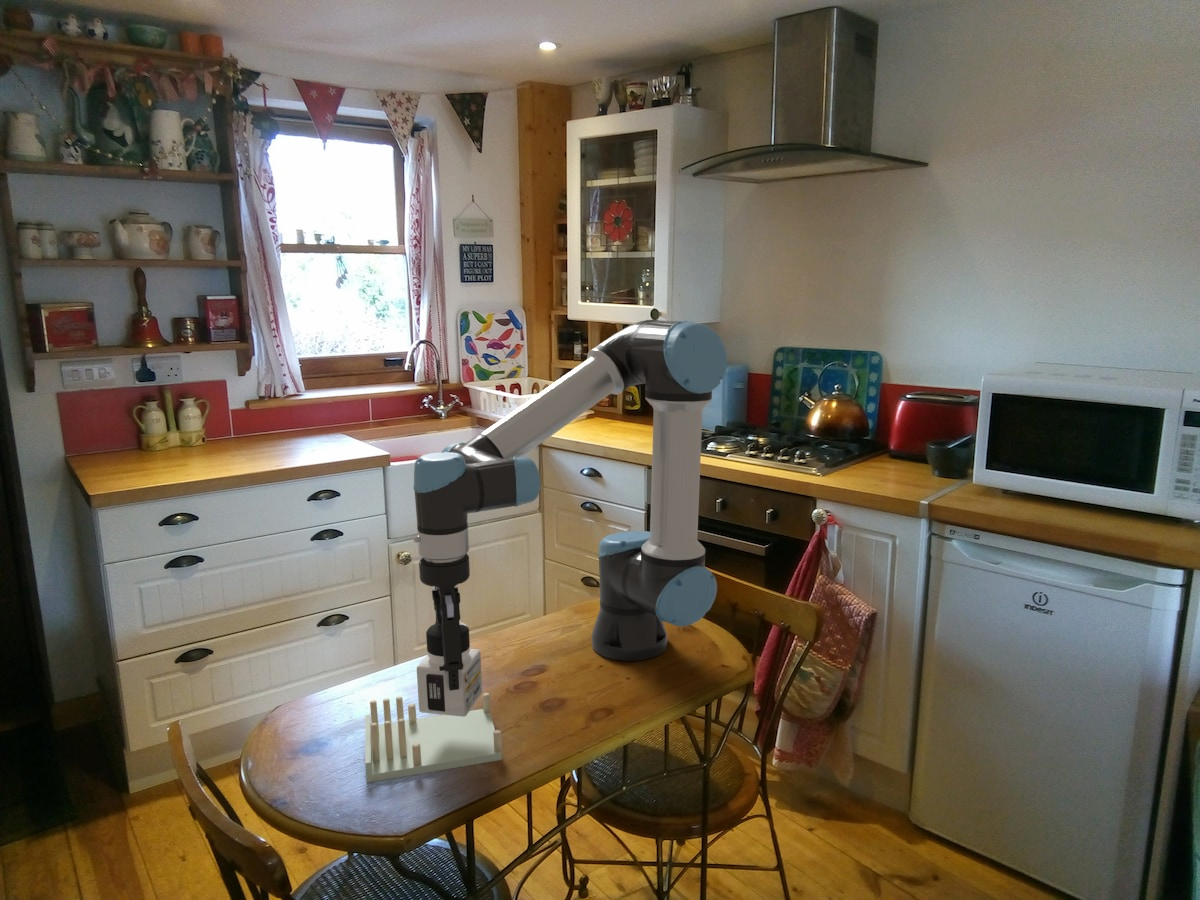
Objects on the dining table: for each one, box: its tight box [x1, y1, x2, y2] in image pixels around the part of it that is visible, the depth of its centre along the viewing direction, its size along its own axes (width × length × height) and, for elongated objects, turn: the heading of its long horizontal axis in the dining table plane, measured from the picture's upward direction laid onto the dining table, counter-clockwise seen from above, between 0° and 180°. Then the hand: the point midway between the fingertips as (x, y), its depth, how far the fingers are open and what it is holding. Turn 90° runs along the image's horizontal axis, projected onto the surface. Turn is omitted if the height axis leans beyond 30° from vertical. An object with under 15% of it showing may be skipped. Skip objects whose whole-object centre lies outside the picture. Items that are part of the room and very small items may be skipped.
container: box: [416, 621, 483, 717], centre depth 128 cm, size 8×8×13 cm
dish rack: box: [364, 692, 503, 784], centre depth 129 cm, size 20×14×7 cm
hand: (450, 689), depth 129 cm, fingers closed on container, 10 cm apart
